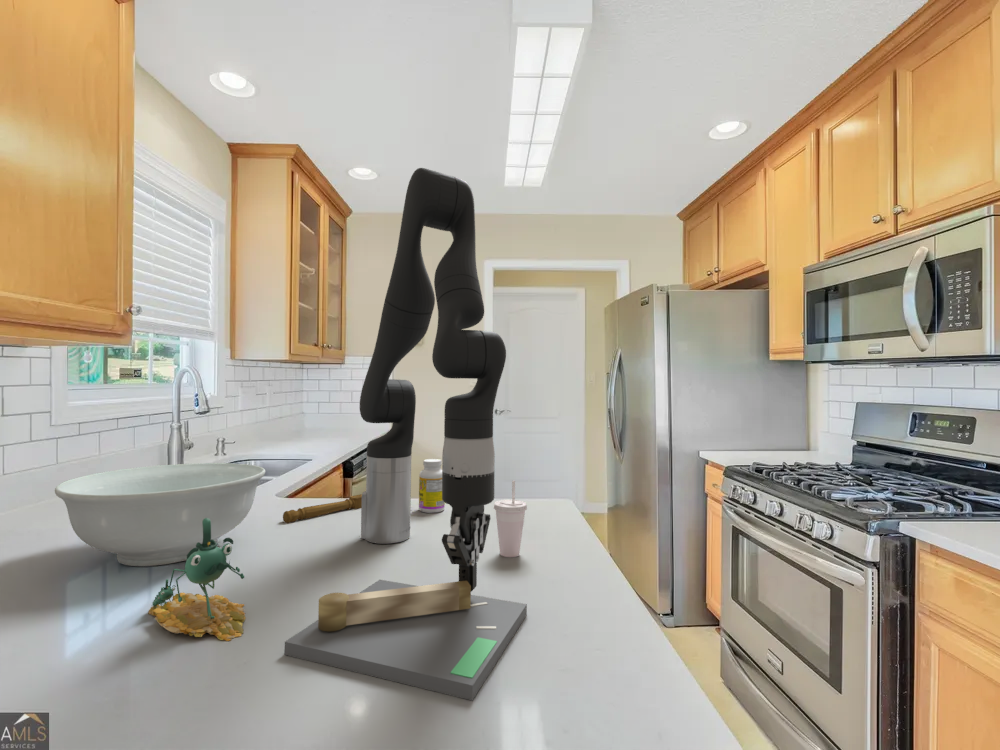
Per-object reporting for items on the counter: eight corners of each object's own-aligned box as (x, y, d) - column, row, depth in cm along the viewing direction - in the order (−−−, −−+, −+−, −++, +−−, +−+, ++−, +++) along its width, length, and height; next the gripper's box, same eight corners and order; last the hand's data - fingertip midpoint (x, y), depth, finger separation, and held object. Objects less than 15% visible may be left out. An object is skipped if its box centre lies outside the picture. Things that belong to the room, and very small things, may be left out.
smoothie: (523, 561, 90) (524, 484, 90) (489, 558, 91) (490, 482, 91) (528, 549, 96) (529, 478, 96) (496, 547, 97) (497, 476, 98)
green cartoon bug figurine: (203, 592, 75) (213, 497, 74) (271, 639, 65) (283, 530, 65) (129, 615, 67) (140, 508, 66) (194, 673, 57) (207, 549, 57)
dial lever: (317, 633, 59) (318, 606, 59) (318, 619, 62) (319, 594, 62) (472, 611, 65) (472, 587, 65) (465, 600, 69) (465, 577, 69)
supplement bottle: (419, 507, 129) (420, 458, 129) (444, 506, 129) (445, 458, 130) (417, 513, 122) (418, 462, 122) (444, 513, 123) (445, 462, 123)
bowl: (42, 552, 91) (45, 473, 91) (231, 519, 114) (232, 457, 115) (63, 607, 69) (67, 503, 69) (291, 552, 92) (293, 475, 93)
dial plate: (284, 654, 57) (284, 640, 58) (379, 589, 76) (379, 578, 76) (472, 700, 50) (472, 684, 50) (526, 614, 68) (526, 603, 69)
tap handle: (282, 509, 113) (385, 489, 137) (281, 523, 113) (385, 500, 137) (289, 512, 111) (392, 490, 135) (288, 525, 111) (392, 501, 135)
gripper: (462, 459, 78) (461, 569, 77) (423, 474, 65) (422, 605, 65) (507, 462, 75) (506, 575, 75) (475, 478, 63) (474, 614, 62)
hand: (467, 589), depth 70 cm, fingers closed
